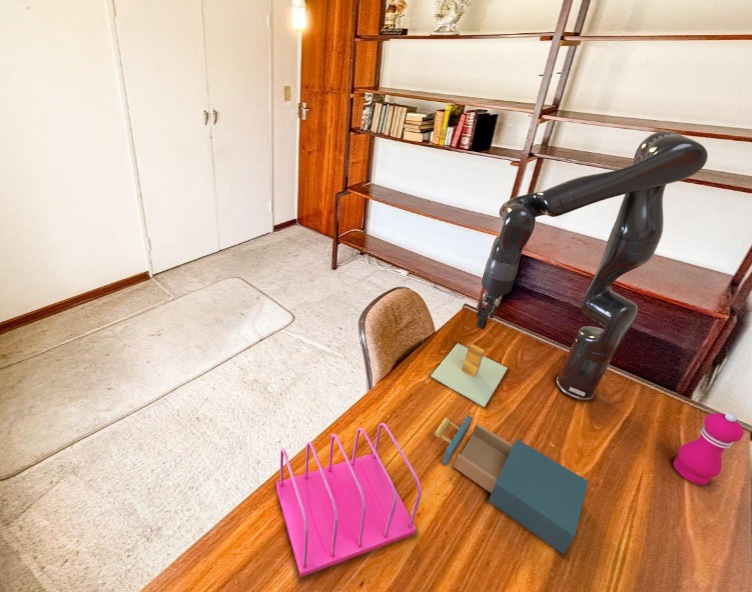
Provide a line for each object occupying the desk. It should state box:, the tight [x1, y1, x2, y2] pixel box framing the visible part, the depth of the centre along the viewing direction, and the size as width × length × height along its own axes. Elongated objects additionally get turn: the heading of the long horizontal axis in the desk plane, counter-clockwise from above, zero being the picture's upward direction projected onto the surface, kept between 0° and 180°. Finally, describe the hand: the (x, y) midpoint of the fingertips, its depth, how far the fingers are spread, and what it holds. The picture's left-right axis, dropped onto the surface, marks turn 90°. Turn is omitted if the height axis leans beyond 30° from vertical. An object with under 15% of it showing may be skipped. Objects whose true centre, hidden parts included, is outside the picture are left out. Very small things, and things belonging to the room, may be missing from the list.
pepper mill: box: [672, 412, 744, 486], centre depth 90 cm, size 7×7×20 cm
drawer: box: [434, 414, 514, 494], centre depth 95 cm, size 18×13×5 cm
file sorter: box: [276, 422, 423, 578], centre depth 81 cm, size 17×25×16 cm
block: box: [462, 343, 486, 378], centre depth 119 cm, size 3×4×9 cm
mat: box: [430, 342, 508, 408], centre depth 121 cm, size 20×16×1 cm
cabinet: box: [488, 438, 589, 555], centre depth 86 cm, size 15×15×7 cm
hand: (484, 322), depth 113 cm, fingers open, 6 cm apart
